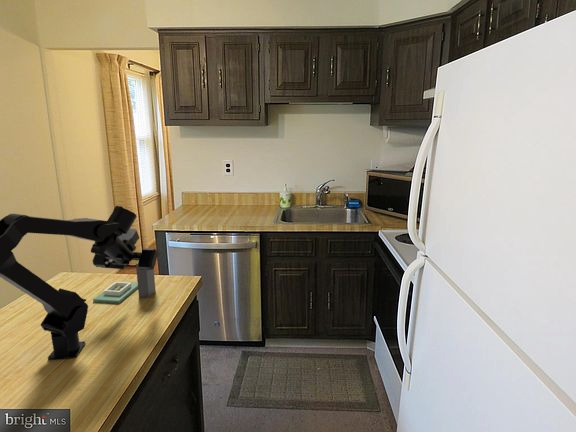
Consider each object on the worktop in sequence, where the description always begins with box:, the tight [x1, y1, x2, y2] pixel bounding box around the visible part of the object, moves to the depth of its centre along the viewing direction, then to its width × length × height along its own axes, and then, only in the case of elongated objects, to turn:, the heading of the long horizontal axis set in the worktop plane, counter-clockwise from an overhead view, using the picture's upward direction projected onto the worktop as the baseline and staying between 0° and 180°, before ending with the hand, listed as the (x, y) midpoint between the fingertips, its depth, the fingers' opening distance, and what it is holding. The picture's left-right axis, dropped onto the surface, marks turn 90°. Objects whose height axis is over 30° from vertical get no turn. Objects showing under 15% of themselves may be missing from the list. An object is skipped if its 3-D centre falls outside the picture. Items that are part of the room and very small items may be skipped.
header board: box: [92, 281, 138, 304], centre depth 122 cm, size 14×9×2 cm, turn 174°
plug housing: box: [135, 262, 156, 299], centre depth 121 cm, size 5×4×12 cm
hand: (137, 268), depth 115 cm, fingers open, 9 cm apart
